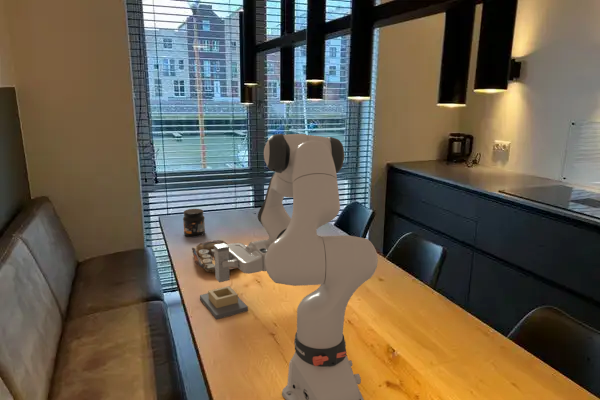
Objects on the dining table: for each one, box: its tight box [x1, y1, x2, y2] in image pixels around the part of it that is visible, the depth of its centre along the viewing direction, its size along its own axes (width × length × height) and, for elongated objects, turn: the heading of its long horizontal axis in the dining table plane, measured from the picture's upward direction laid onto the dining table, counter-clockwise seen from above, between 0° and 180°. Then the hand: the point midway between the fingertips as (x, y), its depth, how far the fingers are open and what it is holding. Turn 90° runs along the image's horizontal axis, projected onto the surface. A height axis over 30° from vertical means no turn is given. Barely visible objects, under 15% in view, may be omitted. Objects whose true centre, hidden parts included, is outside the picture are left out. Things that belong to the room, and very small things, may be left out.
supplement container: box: [182, 208, 206, 238], centre depth 218 cm, size 10×10×12 cm
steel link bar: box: [214, 243, 231, 284], centre depth 144 cm, size 4×4×12 cm
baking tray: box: [191, 239, 239, 274], centre depth 183 cm, size 30×22×5 cm
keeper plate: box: [199, 285, 249, 320], centre depth 147 cm, size 16×11×4 cm
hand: (219, 261), depth 144 cm, fingers closed on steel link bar, 4 cm apart
